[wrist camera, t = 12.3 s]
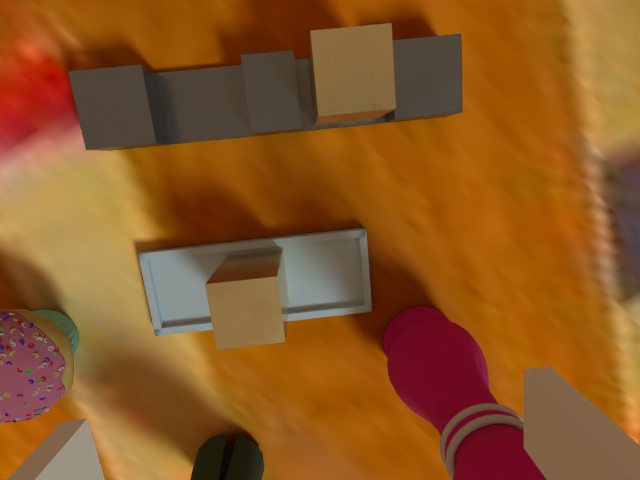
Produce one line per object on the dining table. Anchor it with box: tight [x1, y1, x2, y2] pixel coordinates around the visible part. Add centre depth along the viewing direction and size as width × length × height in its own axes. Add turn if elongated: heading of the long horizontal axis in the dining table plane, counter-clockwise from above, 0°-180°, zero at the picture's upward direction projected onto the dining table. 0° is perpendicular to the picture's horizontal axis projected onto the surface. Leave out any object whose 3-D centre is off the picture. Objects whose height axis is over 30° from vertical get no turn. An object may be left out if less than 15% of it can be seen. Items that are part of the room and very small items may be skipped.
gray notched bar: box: [68, 34, 462, 151], centre depth 27 cm, size 26×5×3 cm, turn 96°
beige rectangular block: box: [205, 249, 289, 350], centre depth 27 cm, size 4×4×7 cm
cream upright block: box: [308, 23, 396, 126], centre depth 24 cm, size 4×4×7 cm
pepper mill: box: [383, 306, 547, 480], centre depth 23 cm, size 7×7×20 cm
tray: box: [138, 227, 372, 336], centre depth 31 cm, size 18×7×1 cm, turn 96°
